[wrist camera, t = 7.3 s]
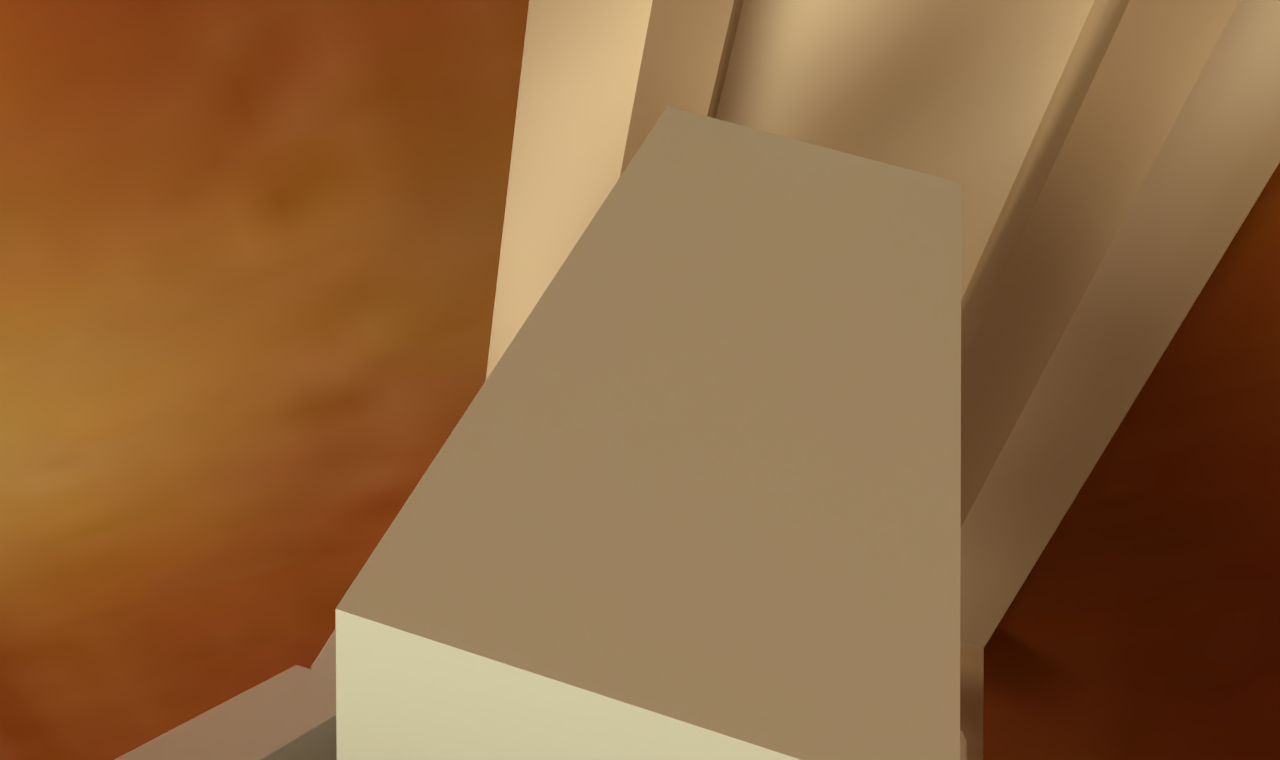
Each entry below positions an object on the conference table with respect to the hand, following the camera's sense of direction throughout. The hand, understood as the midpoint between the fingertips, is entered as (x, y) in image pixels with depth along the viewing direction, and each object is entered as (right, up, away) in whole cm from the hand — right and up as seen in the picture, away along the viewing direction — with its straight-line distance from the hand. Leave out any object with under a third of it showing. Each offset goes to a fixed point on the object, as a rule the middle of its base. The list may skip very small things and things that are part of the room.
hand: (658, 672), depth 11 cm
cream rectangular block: (+1, +1, +2) cm, 3 cm away
